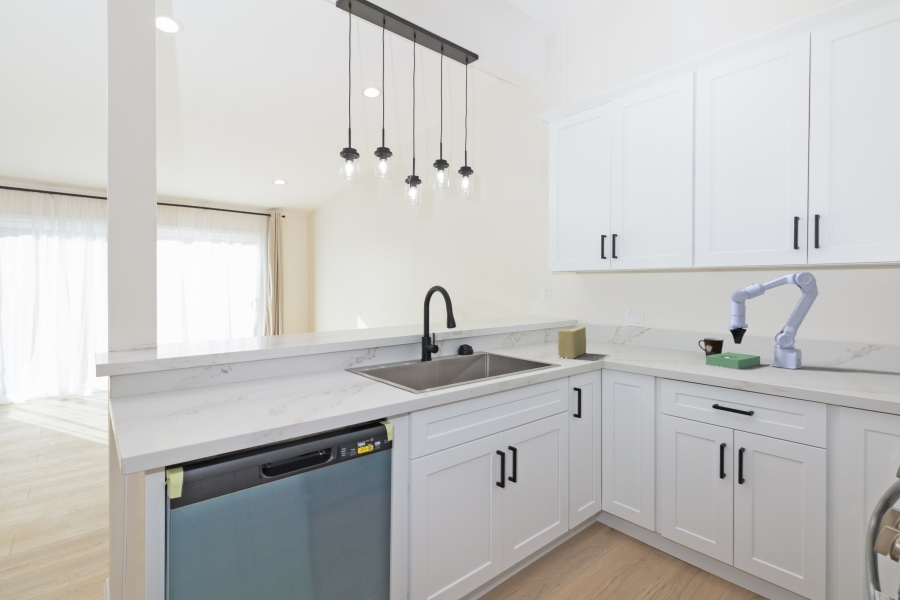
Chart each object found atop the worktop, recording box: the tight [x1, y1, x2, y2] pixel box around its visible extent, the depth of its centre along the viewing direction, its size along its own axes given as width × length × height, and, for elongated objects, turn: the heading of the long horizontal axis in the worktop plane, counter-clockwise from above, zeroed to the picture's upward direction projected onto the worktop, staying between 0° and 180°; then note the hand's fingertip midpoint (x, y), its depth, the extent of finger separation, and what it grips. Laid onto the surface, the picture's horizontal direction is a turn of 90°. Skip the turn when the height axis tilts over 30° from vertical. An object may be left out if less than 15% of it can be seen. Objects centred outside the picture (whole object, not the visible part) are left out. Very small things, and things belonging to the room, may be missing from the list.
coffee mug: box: [697, 337, 724, 357], centre depth 218 cm, size 12×9×10 cm
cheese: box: [557, 326, 587, 359], centre depth 228 cm, size 22×10×15 cm, turn 137°
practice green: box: [705, 351, 761, 370], centre depth 200 cm, size 20×14×4 cm
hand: (737, 343), depth 204 cm, fingers closed
